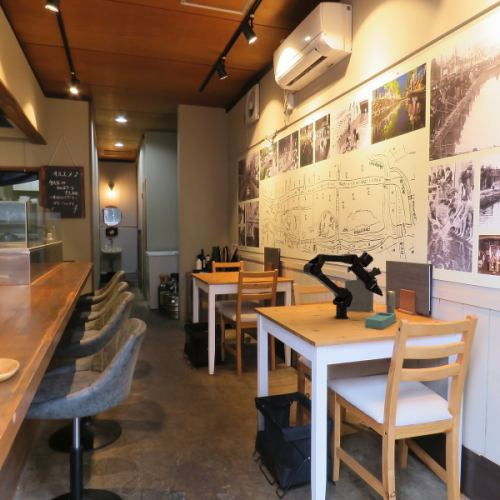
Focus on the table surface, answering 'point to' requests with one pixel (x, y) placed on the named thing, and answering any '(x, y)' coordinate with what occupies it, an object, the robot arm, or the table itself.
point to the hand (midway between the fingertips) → (382, 294)
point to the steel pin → (390, 302)
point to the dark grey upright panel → (359, 296)
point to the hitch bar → (380, 320)
